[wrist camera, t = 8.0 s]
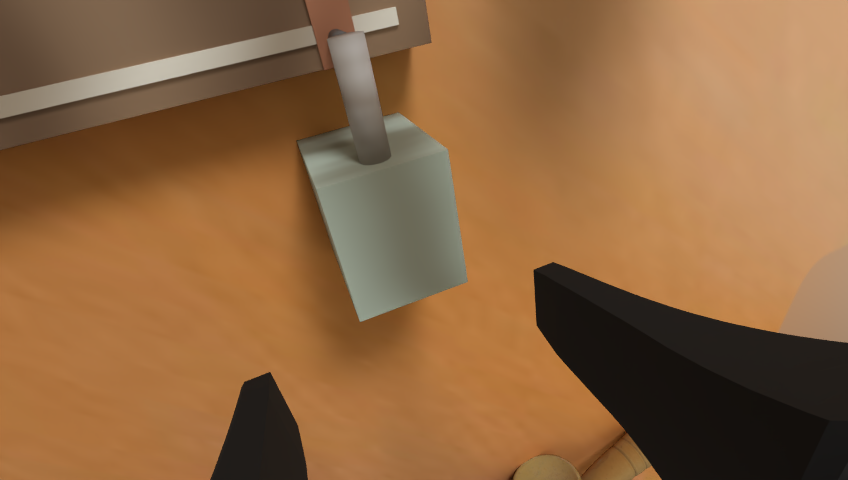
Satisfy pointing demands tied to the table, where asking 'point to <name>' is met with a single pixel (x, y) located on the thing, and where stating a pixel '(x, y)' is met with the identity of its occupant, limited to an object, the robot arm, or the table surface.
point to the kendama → (606, 476)
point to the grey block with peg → (383, 194)
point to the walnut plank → (169, 53)
